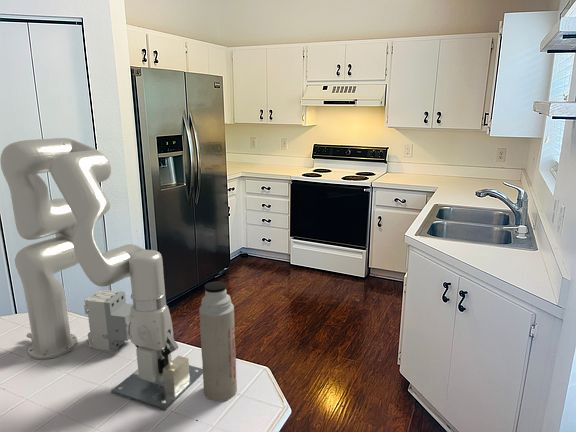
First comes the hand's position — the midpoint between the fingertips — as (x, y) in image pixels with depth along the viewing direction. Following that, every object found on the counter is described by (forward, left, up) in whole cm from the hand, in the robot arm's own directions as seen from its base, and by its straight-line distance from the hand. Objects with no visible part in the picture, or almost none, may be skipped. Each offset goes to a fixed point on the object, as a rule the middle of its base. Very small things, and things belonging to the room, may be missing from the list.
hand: (155, 367), depth 106 cm
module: (0, 0, -1) cm, 1 cm away
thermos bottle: (+17, +3, -4) cm, 18 cm away
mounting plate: (+1, 0, -4) cm, 4 cm away
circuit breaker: (-22, +10, -4) cm, 25 cm away
